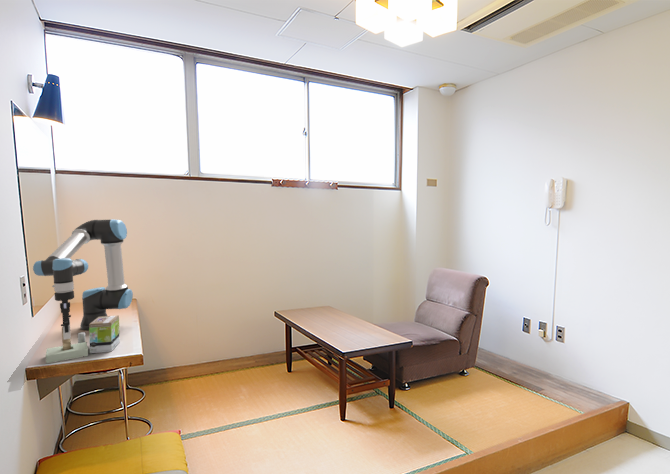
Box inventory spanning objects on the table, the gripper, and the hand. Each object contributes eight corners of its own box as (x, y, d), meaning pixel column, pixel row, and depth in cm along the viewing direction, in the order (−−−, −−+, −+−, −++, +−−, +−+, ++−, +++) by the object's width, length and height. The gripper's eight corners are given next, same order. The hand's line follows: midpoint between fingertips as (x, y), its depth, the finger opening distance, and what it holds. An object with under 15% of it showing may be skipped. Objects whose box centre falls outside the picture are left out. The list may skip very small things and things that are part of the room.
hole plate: (87, 348, 192) (86, 341, 191) (88, 355, 182) (87, 348, 182) (47, 355, 182) (46, 348, 182) (46, 363, 173) (45, 356, 172)
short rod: (85, 345, 197) (85, 332, 196) (85, 347, 194) (85, 333, 194) (78, 346, 195) (77, 333, 195) (78, 348, 192) (77, 334, 192)
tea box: (112, 351, 187) (111, 322, 186) (89, 354, 184) (87, 323, 183) (120, 342, 201) (119, 314, 201) (98, 344, 199) (97, 316, 198)
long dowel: (71, 354, 184) (69, 325, 183) (71, 356, 181) (69, 327, 181) (63, 355, 182) (61, 326, 182) (63, 357, 180) (61, 328, 179)
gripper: (54, 287, 188) (57, 329, 190) (53, 297, 168) (56, 344, 170) (73, 285, 193) (75, 326, 194) (74, 294, 172) (77, 340, 174)
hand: (67, 335), depth 182 cm, fingers open, 13 cm apart
